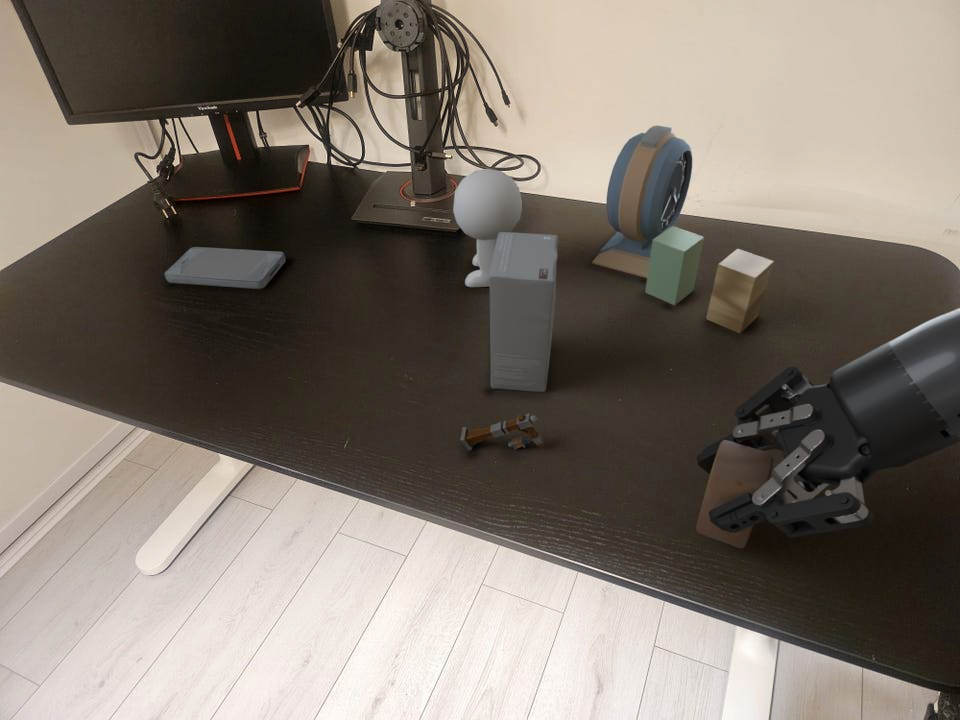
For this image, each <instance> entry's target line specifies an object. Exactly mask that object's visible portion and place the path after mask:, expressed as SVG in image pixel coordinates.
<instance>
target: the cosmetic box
mask: <svg viewBox="0 0 960 720" xmlns="http://www.w3.org/2000/svg"><path fill="white" fill-rule="evenodd" d="M558 239H559V237H558V235H556V234H543V233H527V232H526V233H525V232H513V231H512V232H499V233H498V237H497V241H496V245H495V249H494V253H493V258H492V262H491V267H490V272H489V280H490V286H489V325H490V326H489V330H490V331H489V335H490V336H489V342H490V343H489V344H490V349H489V350H490V360H489V361H490V387H491V389H493V390H507V391H508V390H510V391H522V392H523V391H525V392H537V393H539V392H541V393H544V392H545V393H546V391H547V384H548V374H549V366H550V360H551V359H550V358H551V350H552V349H551V348H552V337H553V330H554V329H553V328H554V321H555V320H554V319H555V309H556V288H557V287H556V286H557V285H556V284H557V283H556V282H557V281H556V280H557V261H558V260H557V259H558V257H559V256H558Z"/></svg>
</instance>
